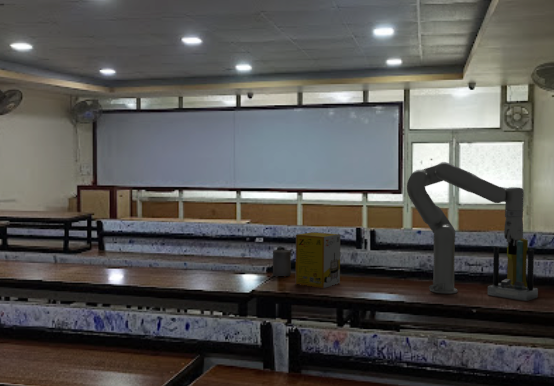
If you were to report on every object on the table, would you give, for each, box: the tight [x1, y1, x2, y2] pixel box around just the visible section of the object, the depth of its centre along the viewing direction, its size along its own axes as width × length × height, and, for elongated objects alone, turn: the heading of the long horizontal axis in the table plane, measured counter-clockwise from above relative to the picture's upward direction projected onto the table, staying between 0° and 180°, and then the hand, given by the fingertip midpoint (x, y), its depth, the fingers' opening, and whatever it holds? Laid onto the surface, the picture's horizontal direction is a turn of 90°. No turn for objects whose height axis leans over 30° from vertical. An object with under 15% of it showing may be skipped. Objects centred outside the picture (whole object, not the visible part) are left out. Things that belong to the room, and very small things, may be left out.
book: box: [506, 237, 529, 287], centre depth 286 cm, size 17×7×25 cm, turn 168°
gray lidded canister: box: [272, 249, 292, 277], centre depth 319 cm, size 10×10×15 cm
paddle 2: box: [515, 282, 524, 286], centre depth 268 cm, size 4×2×2 cm, turn 134°
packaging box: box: [295, 231, 341, 289], centre depth 296 cm, size 16×16×25 cm
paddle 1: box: [500, 278, 511, 286], centre depth 272 cm, size 4×2×2 cm, turn 134°
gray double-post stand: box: [487, 245, 539, 302], centre depth 270 cm, size 12×18×22 cm, turn 44°
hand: (512, 254), depth 270 cm, fingers closed
